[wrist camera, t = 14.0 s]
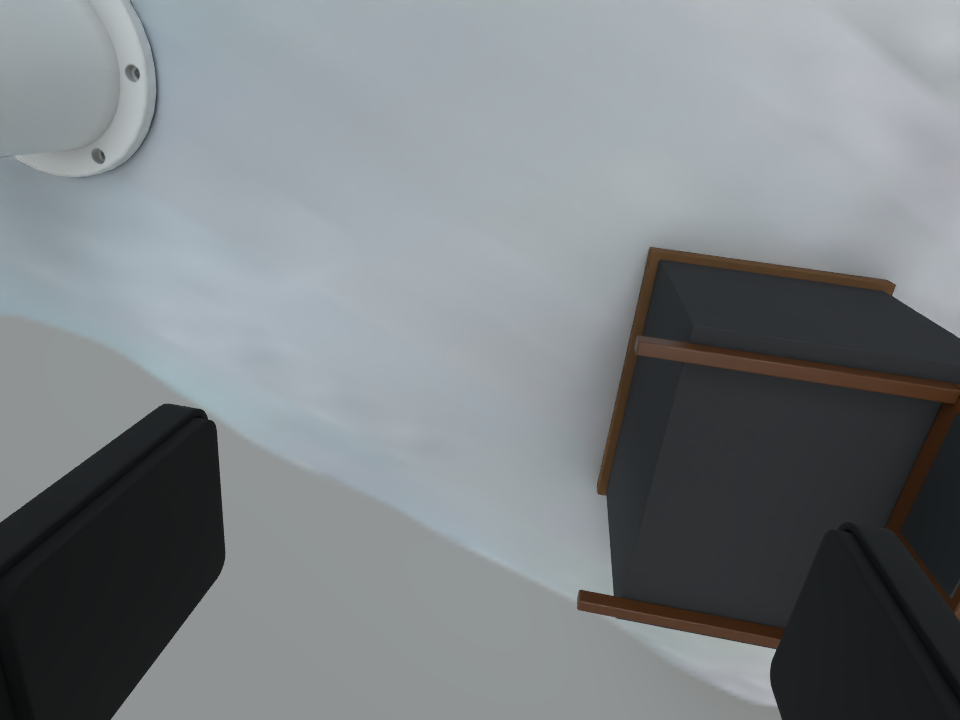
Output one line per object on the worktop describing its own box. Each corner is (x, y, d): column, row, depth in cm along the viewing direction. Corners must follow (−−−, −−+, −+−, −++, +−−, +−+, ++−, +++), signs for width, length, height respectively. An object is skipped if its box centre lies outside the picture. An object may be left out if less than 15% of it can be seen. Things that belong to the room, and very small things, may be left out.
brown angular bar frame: (979, 386, 24) (1080, 458, 19) (852, 650, 29) (905, 757, 25) (636, 334, 25) (650, 389, 20) (577, 598, 30) (576, 690, 26)
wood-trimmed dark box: (596, 485, 42) (603, 622, 31) (649, 246, 35) (682, 312, 24) (809, 522, 40) (894, 679, 30) (905, 282, 34) (1061, 368, 23)
